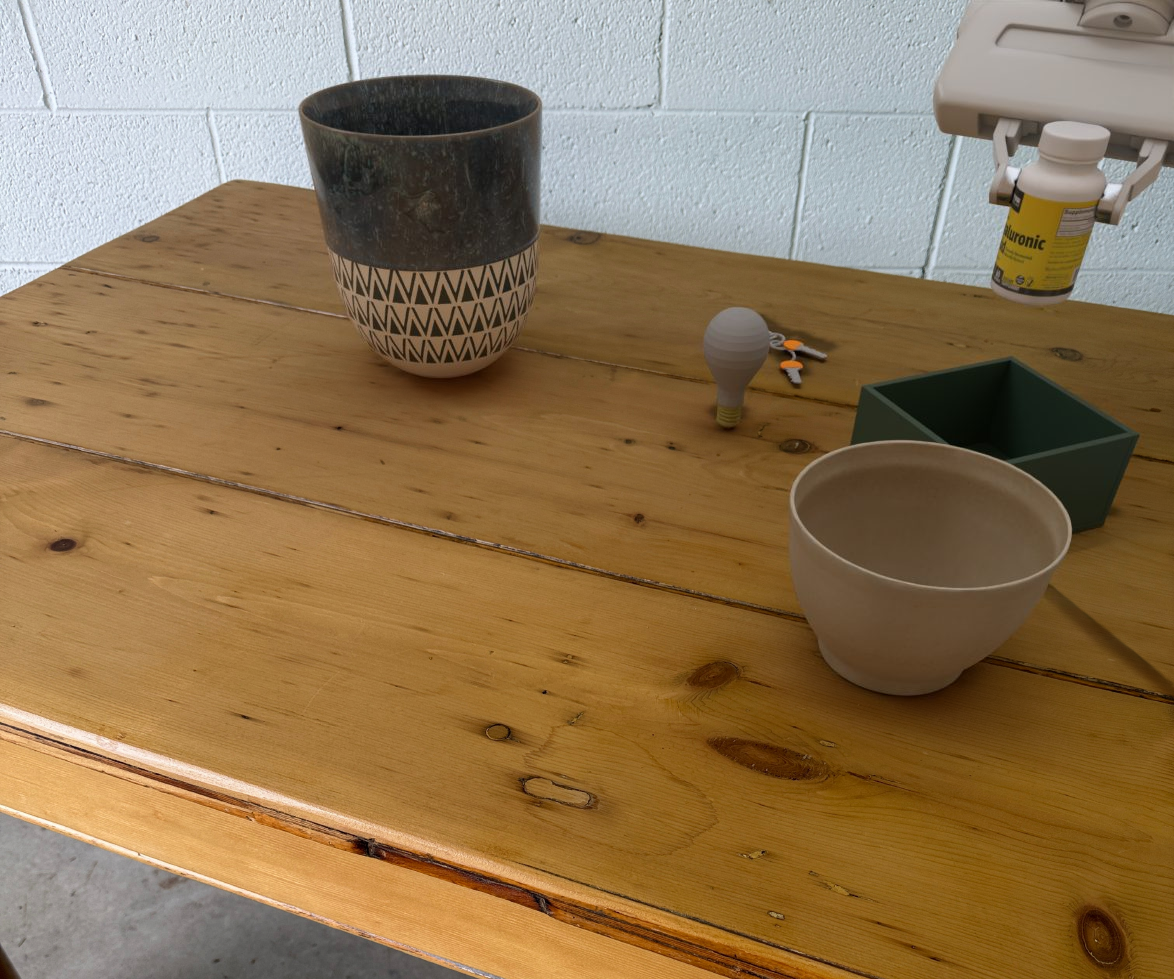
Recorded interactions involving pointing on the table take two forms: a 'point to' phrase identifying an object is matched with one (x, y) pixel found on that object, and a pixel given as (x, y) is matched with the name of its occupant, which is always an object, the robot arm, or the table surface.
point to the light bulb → (734, 357)
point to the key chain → (791, 346)
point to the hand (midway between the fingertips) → (1052, 210)
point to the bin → (1008, 428)
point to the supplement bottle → (1052, 216)
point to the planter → (430, 213)
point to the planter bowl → (919, 558)
